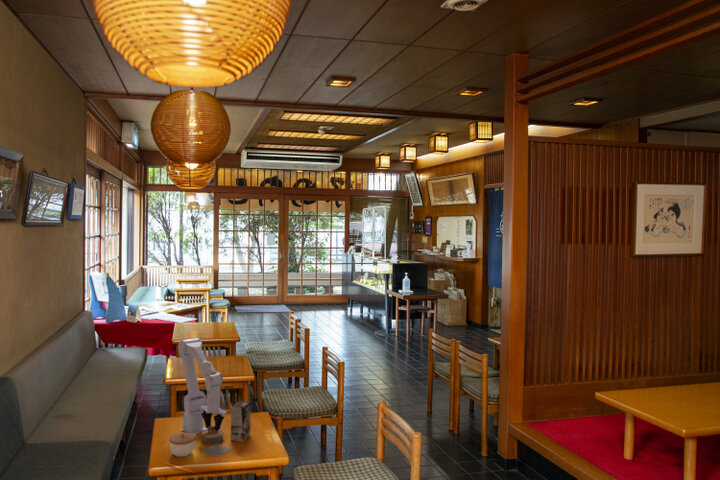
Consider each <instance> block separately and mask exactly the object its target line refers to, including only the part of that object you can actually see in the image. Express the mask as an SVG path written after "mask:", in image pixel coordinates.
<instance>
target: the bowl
mask: <svg viewBox="0 0 720 480" xmlns="http://www.w3.org/2000/svg"><path fill="white" fill-rule="evenodd" d="M223 439H224V434H223V435H222V436H220V437H216V438H206V437H203V436H202V435H201V442H203V443H205V444H219V443H220V442H222V441H223Z"/></svg>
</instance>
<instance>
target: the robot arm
mask: <svg viewBox="0 0 720 480" xmlns="http://www.w3.org/2000/svg"><path fill="white" fill-rule="evenodd" d="M177 351H178V355H179V358H180V359H182V360H181V361H182V365H183V370H184V377H185V381H186V387H187V392H188V393H187V394H186V396H184V398H183V403H184V405H183V408H184V414H183V415H182V429H180V430H181V431H182V432H184V433H192V434H194V435H198V434H200V433H202V432H203V431H204V430H207V429H208V427H209V426H211V425H212V416H213V414H214V416H213V420H214V421H213V422H214V424H215V430H216V431H218V430H220V429H221V426H222V423H223V421H224V418H225V417H227V411H226V410H224V409H222V408H221V406H220V405H221V385H222V384H223V382H224V377H223V375H222V373H221V372H219V371H217V370H216V368H215V367H214V365H213V363H212V362H211V361H210V360H207V358H206V356H205V355H206V354H205V353H204V351H203V342H202V340H201V338H199V337H194V338H188V339H180V341H179V342H178V344H177ZM194 358H195V359H196V361H197V362H198V364H199V365H200V366H199V370H200V372H201V374H202V376H203V377H204V384H205V389H206V391H207V392H206V394H205V392H203V391H200V387H199V381H198V377H197V376H198V375H197V371H196V366H195V361H194ZM204 423H205V424H204ZM204 425H205V427H204Z"/></svg>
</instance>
